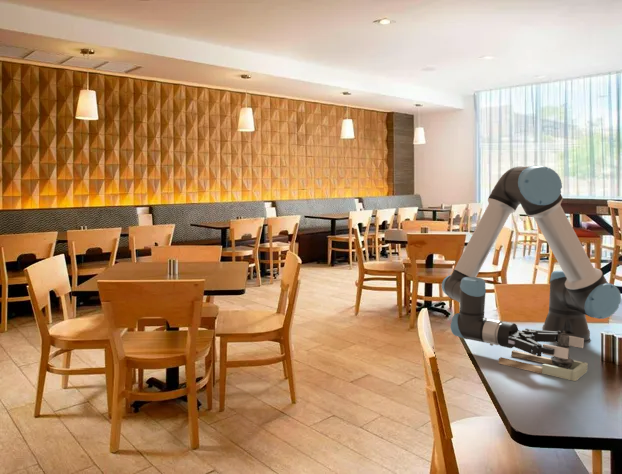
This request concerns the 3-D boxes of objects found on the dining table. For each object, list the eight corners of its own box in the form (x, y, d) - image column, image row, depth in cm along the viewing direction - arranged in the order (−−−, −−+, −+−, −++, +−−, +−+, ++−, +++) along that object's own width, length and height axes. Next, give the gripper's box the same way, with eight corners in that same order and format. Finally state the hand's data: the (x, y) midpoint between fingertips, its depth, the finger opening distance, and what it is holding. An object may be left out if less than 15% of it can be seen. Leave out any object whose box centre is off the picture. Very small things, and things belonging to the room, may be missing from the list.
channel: (498, 363, 162) (498, 358, 162) (513, 354, 170) (513, 350, 170) (541, 373, 154) (541, 368, 154) (554, 364, 162) (555, 359, 162)
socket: (541, 373, 154) (542, 364, 154) (554, 364, 162) (555, 356, 161) (575, 381, 148) (576, 372, 148) (587, 371, 156) (587, 363, 155)
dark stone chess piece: (575, 376, 152) (578, 333, 151) (552, 374, 153) (555, 332, 152) (570, 369, 158) (572, 328, 156) (548, 367, 159) (550, 327, 158)
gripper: (516, 337, 176) (588, 351, 162) (482, 354, 158) (559, 372, 144) (517, 314, 175) (589, 326, 161) (483, 329, 157) (561, 344, 143)
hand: (575, 348), depth 152 cm, fingers open, 13 cm apart
